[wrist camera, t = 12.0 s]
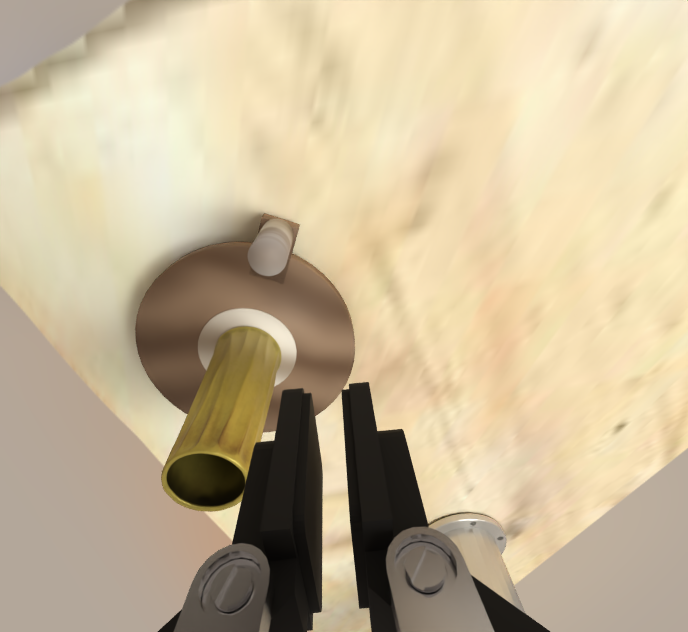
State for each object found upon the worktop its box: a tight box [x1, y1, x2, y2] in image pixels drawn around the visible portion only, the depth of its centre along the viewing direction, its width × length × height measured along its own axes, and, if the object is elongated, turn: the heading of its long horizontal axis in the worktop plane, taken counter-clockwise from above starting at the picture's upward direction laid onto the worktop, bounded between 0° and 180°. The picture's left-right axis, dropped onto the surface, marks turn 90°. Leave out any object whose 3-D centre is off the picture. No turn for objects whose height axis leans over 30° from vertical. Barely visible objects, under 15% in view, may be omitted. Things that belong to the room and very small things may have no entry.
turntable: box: [135, 214, 355, 432], centre depth 33 cm, size 23×20×8 cm
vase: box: [161, 326, 281, 511], centre depth 29 cm, size 6×6×14 cm
